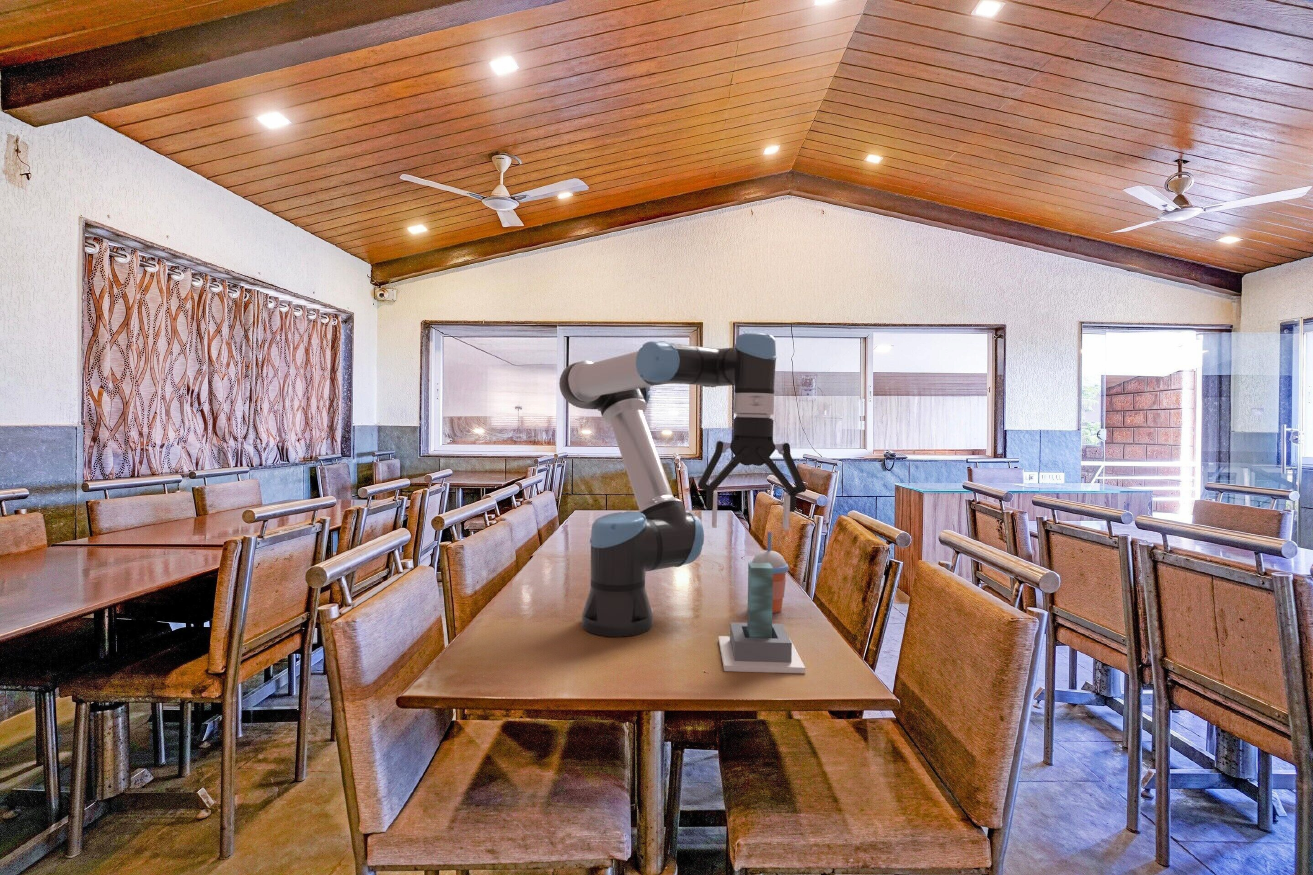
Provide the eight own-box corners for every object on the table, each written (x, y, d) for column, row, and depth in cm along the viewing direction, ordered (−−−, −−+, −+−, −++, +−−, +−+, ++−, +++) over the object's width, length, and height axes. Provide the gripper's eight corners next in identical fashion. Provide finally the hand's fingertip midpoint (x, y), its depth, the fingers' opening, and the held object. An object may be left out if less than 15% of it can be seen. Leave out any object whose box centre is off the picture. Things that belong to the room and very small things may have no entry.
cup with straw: (791, 615, 131) (793, 536, 131) (751, 615, 131) (752, 535, 131) (783, 603, 140) (785, 529, 140) (746, 602, 140) (747, 528, 140)
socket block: (724, 670, 101) (724, 645, 101) (718, 640, 115) (719, 618, 115) (805, 673, 101) (805, 647, 101) (789, 642, 115) (790, 620, 115)
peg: (749, 654, 106) (751, 567, 106) (746, 646, 110) (748, 562, 110) (771, 655, 106) (773, 568, 106) (768, 647, 110) (769, 562, 110)
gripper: (687, 414, 107) (684, 529, 108) (824, 418, 106) (820, 533, 107) (687, 414, 114) (684, 521, 115) (815, 418, 113) (811, 525, 114)
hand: (749, 527), depth 111 cm, fingers open, 13 cm apart
